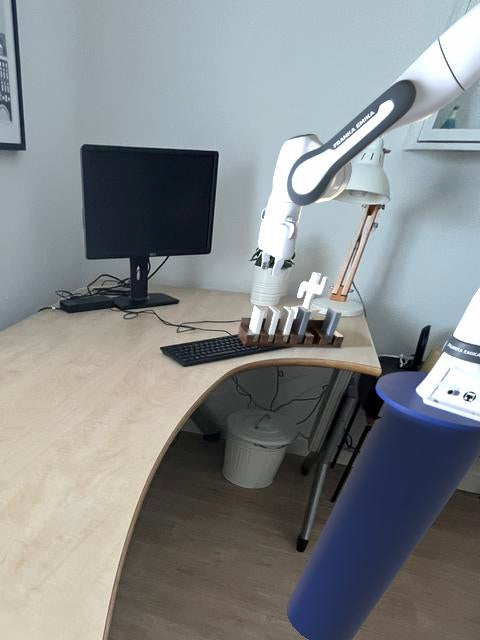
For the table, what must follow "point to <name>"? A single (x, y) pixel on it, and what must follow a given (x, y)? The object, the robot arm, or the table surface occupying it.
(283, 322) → the white book
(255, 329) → the white book
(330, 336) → the grey book
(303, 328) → the grey book
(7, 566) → the table surface
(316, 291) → the figurine
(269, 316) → the white book
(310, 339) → the book rack
